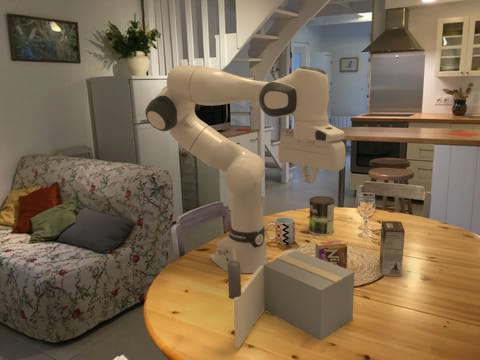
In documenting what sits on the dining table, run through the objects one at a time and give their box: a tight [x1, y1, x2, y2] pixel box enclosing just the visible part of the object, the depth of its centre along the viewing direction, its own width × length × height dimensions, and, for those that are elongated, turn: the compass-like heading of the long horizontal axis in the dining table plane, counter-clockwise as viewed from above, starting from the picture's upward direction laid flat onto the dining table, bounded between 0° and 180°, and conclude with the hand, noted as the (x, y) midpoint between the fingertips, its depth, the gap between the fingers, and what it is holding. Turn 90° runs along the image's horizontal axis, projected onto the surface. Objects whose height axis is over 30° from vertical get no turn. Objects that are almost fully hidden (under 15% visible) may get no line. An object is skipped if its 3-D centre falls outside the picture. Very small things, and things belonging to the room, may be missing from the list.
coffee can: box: [308, 195, 335, 236], centre depth 177 cm, size 10×10×14 cm
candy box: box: [315, 240, 348, 269], centre depth 129 cm, size 9×4×15 cm, turn 96°
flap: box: [227, 261, 265, 349], centre depth 109 cm, size 19×3×21 cm, turn 158°
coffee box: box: [379, 220, 406, 277], centre depth 140 cm, size 9×6×16 cm
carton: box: [263, 250, 355, 342], centre depth 116 cm, size 20×14×14 cm
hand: (309, 182), depth 113 cm, fingers closed
